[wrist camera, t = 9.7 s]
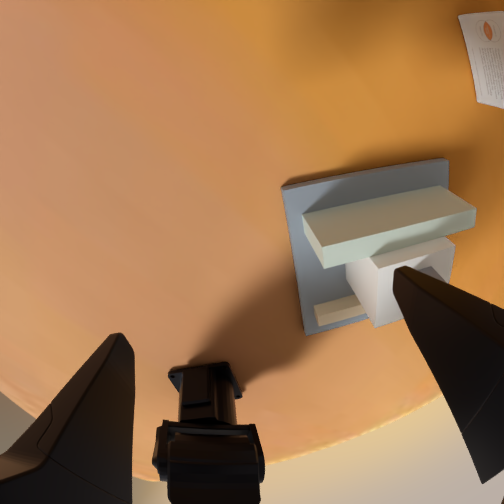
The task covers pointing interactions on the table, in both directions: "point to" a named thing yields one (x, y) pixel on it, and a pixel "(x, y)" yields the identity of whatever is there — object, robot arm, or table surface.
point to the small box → (486, 54)
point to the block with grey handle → (382, 269)
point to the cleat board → (363, 229)
